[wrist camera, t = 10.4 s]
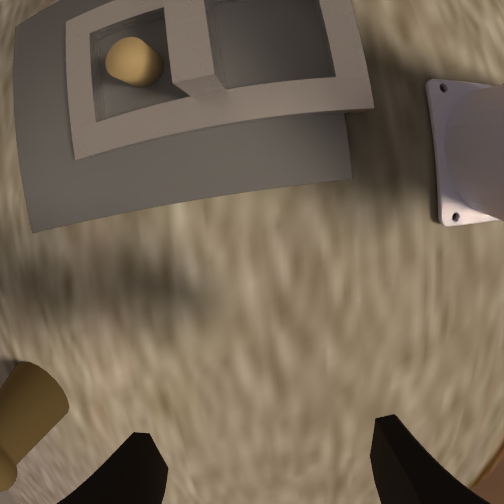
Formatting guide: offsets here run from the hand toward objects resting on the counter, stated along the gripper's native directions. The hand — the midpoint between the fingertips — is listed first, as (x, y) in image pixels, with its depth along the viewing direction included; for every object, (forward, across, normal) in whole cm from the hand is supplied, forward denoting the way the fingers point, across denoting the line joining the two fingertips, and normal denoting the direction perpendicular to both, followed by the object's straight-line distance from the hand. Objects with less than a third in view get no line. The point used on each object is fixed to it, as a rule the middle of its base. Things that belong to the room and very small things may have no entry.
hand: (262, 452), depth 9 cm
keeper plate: (+9, +4, -14) cm, 17 cm away
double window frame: (+8, +1, -14) cm, 17 cm away
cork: (+10, +20, +6) cm, 23 cm away
